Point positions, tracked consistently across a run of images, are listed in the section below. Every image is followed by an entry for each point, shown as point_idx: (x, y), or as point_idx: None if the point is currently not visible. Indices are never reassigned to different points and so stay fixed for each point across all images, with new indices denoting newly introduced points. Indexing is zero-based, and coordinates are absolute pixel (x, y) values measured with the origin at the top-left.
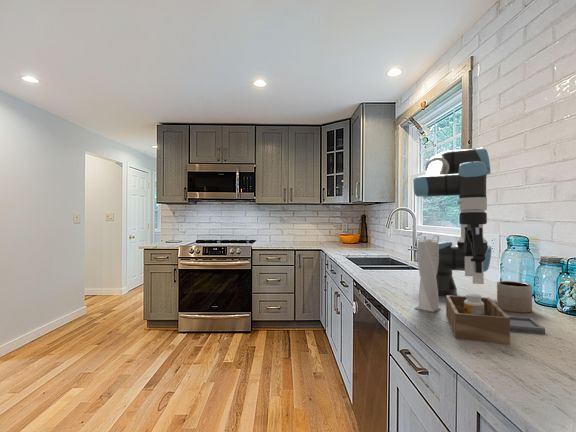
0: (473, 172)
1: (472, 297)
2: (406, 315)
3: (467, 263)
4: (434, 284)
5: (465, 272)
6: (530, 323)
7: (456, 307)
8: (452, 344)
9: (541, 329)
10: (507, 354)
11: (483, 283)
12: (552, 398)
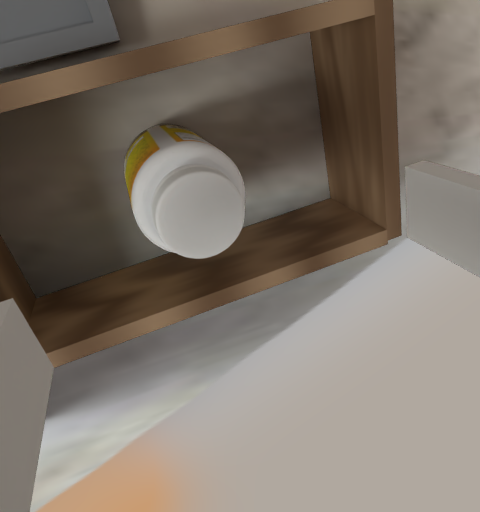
0: None
1: (241, 215)
2: (159, 416)
3: (18, 467)
4: None
5: (46, 392)
6: None
7: (9, 293)
8: (400, 202)
9: None
10: (428, 27)
11: (427, 162)
12: None
